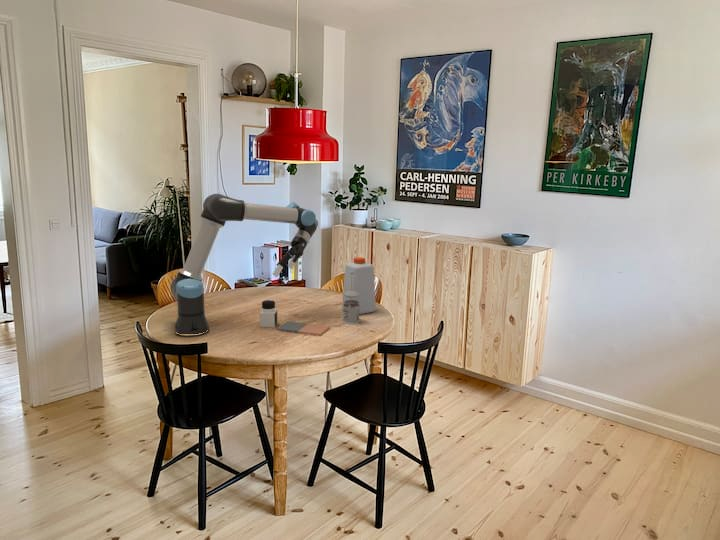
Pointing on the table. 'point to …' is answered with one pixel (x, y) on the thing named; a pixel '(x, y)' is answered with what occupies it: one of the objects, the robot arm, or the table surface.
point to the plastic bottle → (360, 284)
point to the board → (303, 328)
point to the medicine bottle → (268, 314)
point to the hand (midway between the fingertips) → (282, 271)
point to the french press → (351, 307)
